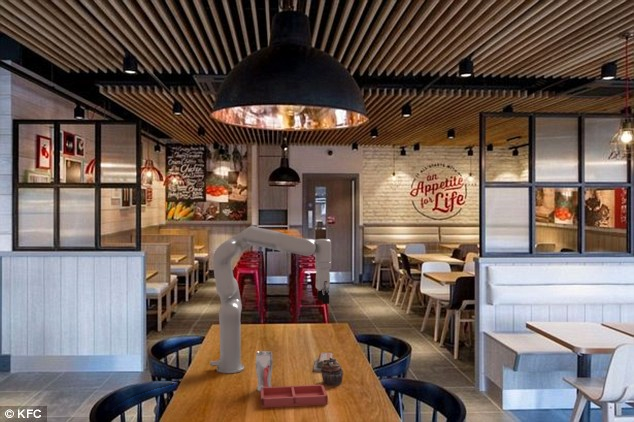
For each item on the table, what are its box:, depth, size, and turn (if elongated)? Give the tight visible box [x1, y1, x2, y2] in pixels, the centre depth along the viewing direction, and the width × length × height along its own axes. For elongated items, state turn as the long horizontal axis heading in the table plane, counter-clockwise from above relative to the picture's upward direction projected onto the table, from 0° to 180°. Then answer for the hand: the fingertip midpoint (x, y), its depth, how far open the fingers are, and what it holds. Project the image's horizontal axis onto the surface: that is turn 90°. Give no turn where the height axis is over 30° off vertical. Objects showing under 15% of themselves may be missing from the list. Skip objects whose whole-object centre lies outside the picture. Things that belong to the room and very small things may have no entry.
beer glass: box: [255, 350, 274, 393], centre depth 215 cm, size 7×7×15 cm
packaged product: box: [313, 352, 334, 373], centre depth 247 cm, size 18×5×10 cm
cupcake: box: [320, 358, 344, 387], centre depth 223 cm, size 10×10×10 cm
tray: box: [260, 384, 329, 409], centre depth 203 cm, size 25×13×3 cm, turn 97°
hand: (323, 301), depth 245 cm, fingers open, 9 cm apart
